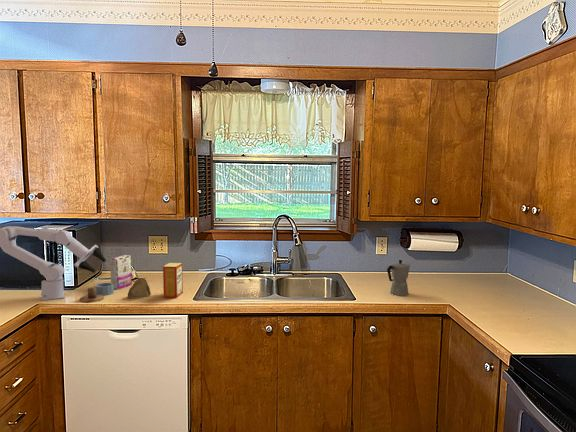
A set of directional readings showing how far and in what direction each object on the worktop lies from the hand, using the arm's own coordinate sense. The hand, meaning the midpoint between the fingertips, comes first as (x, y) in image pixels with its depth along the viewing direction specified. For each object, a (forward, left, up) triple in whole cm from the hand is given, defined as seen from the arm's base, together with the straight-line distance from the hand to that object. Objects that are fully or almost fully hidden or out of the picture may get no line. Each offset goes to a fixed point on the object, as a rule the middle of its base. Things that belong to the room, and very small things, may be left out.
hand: (100, 266), depth 207 cm
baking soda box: (+33, -14, -15) cm, 39 cm away
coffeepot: (+139, -60, -15) cm, 152 cm away
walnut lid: (-4, -5, -15) cm, 16 cm away
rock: (+17, -9, -15) cm, 24 cm away
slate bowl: (+2, +4, -15) cm, 15 cm away
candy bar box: (+11, +14, -15) cm, 23 cm away
